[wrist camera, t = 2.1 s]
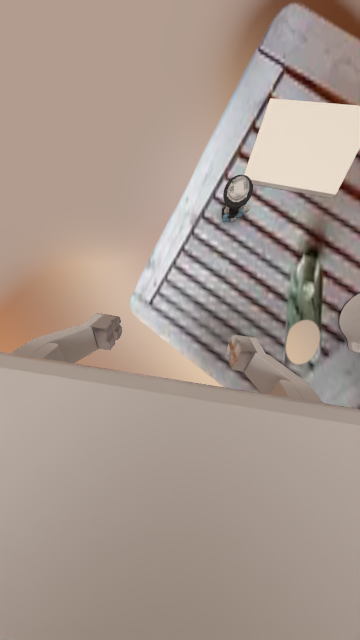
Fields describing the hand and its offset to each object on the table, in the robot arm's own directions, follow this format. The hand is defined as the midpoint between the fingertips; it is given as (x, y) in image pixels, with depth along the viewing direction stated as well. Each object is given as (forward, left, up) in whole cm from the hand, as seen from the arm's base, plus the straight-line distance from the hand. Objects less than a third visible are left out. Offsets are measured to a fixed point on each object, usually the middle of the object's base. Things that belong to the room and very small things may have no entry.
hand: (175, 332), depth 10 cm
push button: (0, -24, -33) cm, 40 cm away
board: (-9, -38, -33) cm, 51 cm away
